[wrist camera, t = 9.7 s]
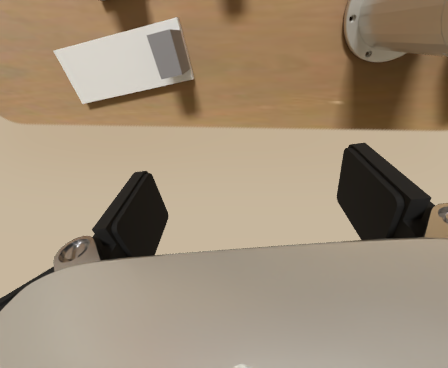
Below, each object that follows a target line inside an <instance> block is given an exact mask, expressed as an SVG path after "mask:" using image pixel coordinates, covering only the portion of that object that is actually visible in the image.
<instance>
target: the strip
mask: <svg viewBox="0 0 448 368" xmlns="http://www.w3.org/2000/svg"><path fill="white" fill-rule="evenodd" d="M54 53H55V55H56V57H57V58H58V60H59V62H60V64H61V66H62V67H63V69H64V71H65V73H66V75H67V76H68V78H69V80H70V82H71V84H72V86H73V87H74V89H75V91H76V93H77V95H78V96H79V98H80V100H81V102H82V104H85V103H89V102H94V101H98V100H103V99H107V98H112V97H116V96H121V95H125V94H130V93H134V92H139V91H143V90H148V89H152V88H157V87H161V86H166V85H170V84H175V83H179V82H184V81H188V80H193V79H194V75H193V72H192V68H191V64H190V60H189V56H188V52H187V48H186V44H185V40H184V36H183V32H182V28H181V25H180V21H179V18H178V17H176V18H173V19H169V20H165V21H161V22H158V23H154V24H150V25H147V26H143V27H139V28H136V29H132V30H128V31H125V32H121V33H117V34H114V35H110V36H106V37H103V38H99V39H95V40H91V41H88V42H84V43H80V44H77V45H73V46H69V47H66V48H62V49H58V50H55V51H54Z"/></svg>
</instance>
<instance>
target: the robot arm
mask: <svg viewBox="0 0 448 368" xmlns="http://www.w3.org/2000/svg"><path fill="white" fill-rule="evenodd" d="M350 17H352V19H351V21H349V18H350ZM344 35H345V39H346V42H347V45H348V47H349V49H350V50H351V51H352V52H353V53H354V55H356V56H357V57H359V58H360V59H363V60H366V61H370V62H386V61H391V60H393V59H396V58H399V57H401V56H403V55H404V54H406V53H414V54H424V55H435V56H445V57H448V0H348V3H347V7H346V10H345V16H344ZM366 52H367V55H365V54H366ZM337 200H338V203H339V204H340V206H341V208H342V209H343V211H344V212H345V214H346V215H347V217H348V219H349V221H350V222H351V224H352V225H353V227H354V229H355V230H356V232H357V233H358V235H359V237H360V238H361V240H358V241H343V242H328V243H314V244H299V245H286V246H285V245H284V246H271V247H258V248H245V249H244V248H243V249H230V250H217V251H203V252H192V253H178V254H166V255H155V253H156V250H157V247H158V244H159V242H160V239H161V236H162V233H163V230H164V228H165V225H166V223H167V220H168V212H167V210H166V207H165V205H164V202H163V200H162V198H161V195H160V193H159V191H158V188H157V186H156V183H155V181H154V179H153V176H152V174H150V173H148V172H147V171H142V172H135V173H134V174H133V175H132V176H131V178H130V179H129V181H128V182H127V183H126V184H125V186H124V187H123V189H122V190H121V191H120V193H119V194H118V195H117V197H116V198H115V199H114V201H113V202H112V203H111V205H110V206H109V207H108V209H107V210H106V211H105V213H104V214H103V215H102V217H101V218H100V220H99V221H98V222H97V224H96V225H95V226H94V228H93V229H92V230H93V232H94V233H95V234H94V236H93V237H91V236H82V237H78V238H76V239H73V240H72V241H70V242H68V243H67V244H65V245H64V246H63V247H62V248H61V249H60V250H59V251H58V252H57V254H56V255H55V257H54V267H52V268H51V269H49V270H47V271H46V272H44V273H42V274H41V275H39V276H37V277H36V278H34V279H32V280H31V281H29V282H27V283H26V284H24V285H22V286H21V287H19V288H17V289H16V290H14V291H12V292H11V293H9V294H7V295H6V296H4V297H2V298H0V368H448V203H443V204H438V205H436V206H435V205H434V204H433V203H431V202H430V200H431V197H430V196H429V195H427V194H426V193H425V192H424V191H423V190H421V189H420V188H419V187H418V186H417V185H415V184H414V183H413V182H412V181H410V180H409V179H408V178H407V177H406V176H404V175H403V174H402V173H401V172H399V171H398V170H397V169H396V168H395V167H394V166H392V165H391V164H390V163H389V162H388V161H386V160H385V159H384V158H383V157H381V156H380V155H379V154H378V153H377V152H375V151H374V150H373V149H372V148H370V147H369V146H368V145H367V144H366V143H359V144H352V145H349V147H348V148H346V149H345V150H344V154H343V160H342V166H341V173H340V179H339V186H338V192H337Z"/></svg>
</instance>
